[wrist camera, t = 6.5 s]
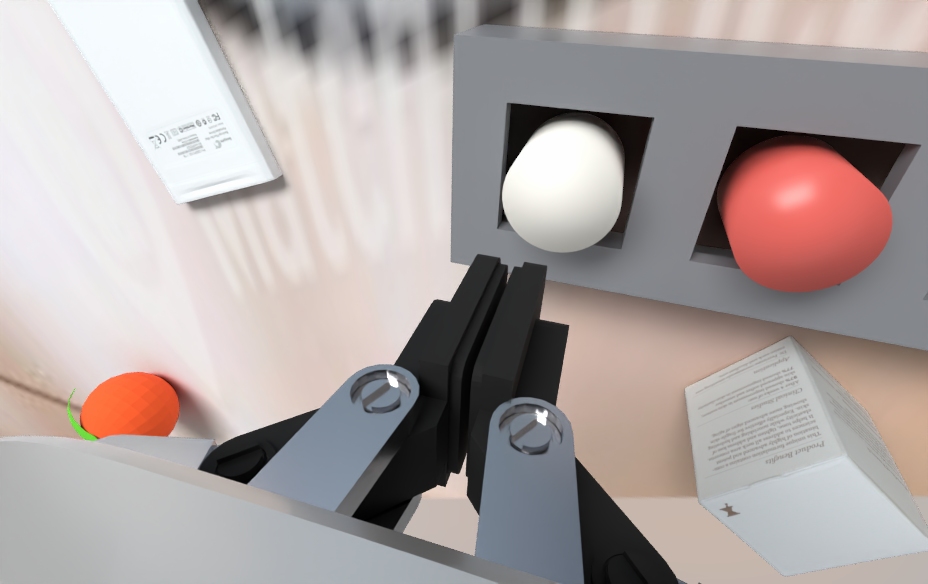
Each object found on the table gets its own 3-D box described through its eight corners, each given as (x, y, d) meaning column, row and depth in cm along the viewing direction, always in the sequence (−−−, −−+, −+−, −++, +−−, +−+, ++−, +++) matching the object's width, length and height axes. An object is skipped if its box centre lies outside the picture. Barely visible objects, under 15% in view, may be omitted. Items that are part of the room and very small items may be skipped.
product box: (750, 450, 27) (781, 581, 21) (680, 384, 26) (692, 503, 20) (869, 409, 23) (945, 552, 18) (793, 331, 22) (847, 456, 17)
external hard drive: (160, -95, 21) (289, 171, 27) (57, -28, 24) (192, 196, 30) (128, -100, 20) (271, 181, 25) (24, -28, 23) (172, 206, 29)
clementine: (115, 370, 44) (38, 428, 39) (129, 335, 40) (45, 394, 34) (186, 422, 46) (122, 485, 40) (207, 393, 41) (139, 459, 36)
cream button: (635, 118, 17) (634, 148, 14) (613, 217, 20) (608, 261, 17) (528, 106, 18) (507, 133, 15) (518, 202, 21) (498, 242, 18)
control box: (1281, 75, 14) (1472, 106, 11) (1051, 318, 19) (1134, 389, 16) (484, 24, 19) (453, 34, 16) (475, 224, 24) (450, 261, 21)
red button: (869, 142, 16) (924, 182, 13) (815, 247, 18) (850, 302, 15) (738, 128, 17) (760, 163, 14) (702, 230, 19) (714, 279, 16)
